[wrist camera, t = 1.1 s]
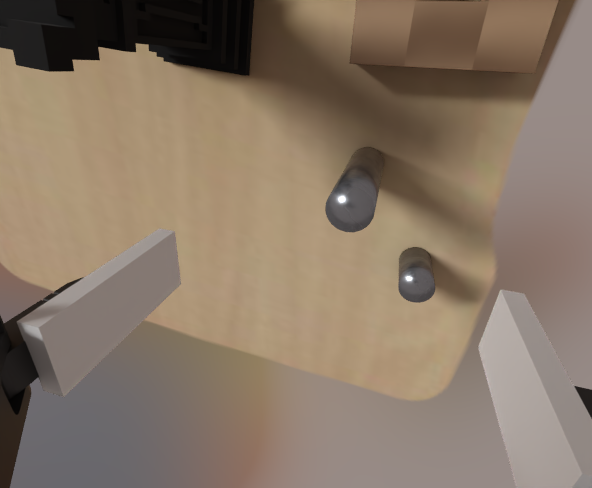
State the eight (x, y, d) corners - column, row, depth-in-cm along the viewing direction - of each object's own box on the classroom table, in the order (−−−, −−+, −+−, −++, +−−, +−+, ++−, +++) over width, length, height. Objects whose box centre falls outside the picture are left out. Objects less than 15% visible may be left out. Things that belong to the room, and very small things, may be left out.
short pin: (402, 244, 34) (402, 270, 30) (434, 250, 34) (438, 276, 29) (396, 270, 36) (395, 298, 31) (427, 276, 35) (430, 305, 31)
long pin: (352, 145, 32) (327, 183, 21) (386, 149, 31) (378, 189, 21) (348, 177, 33) (323, 228, 23) (380, 181, 32) (370, 235, 22)
